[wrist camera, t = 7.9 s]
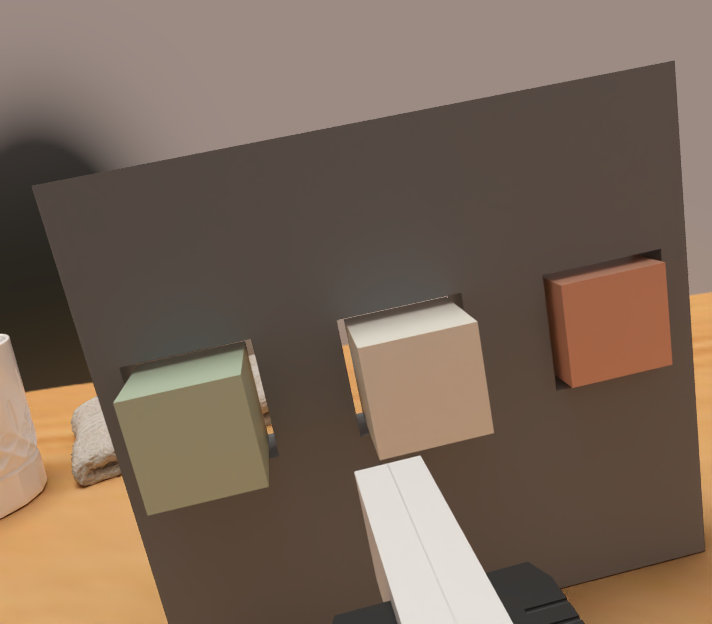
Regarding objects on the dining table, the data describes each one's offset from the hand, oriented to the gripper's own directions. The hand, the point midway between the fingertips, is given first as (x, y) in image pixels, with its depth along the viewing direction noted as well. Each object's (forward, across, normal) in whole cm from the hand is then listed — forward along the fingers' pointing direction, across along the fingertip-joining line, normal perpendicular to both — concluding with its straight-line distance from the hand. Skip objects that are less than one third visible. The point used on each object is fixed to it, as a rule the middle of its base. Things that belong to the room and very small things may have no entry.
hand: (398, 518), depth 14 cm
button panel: (+12, +2, -9) cm, 15 cm away
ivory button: (+7, +2, -1) cm, 7 cm away
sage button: (+7, -5, -1) cm, 8 cm away
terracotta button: (+8, +9, -1) cm, 13 cm away
